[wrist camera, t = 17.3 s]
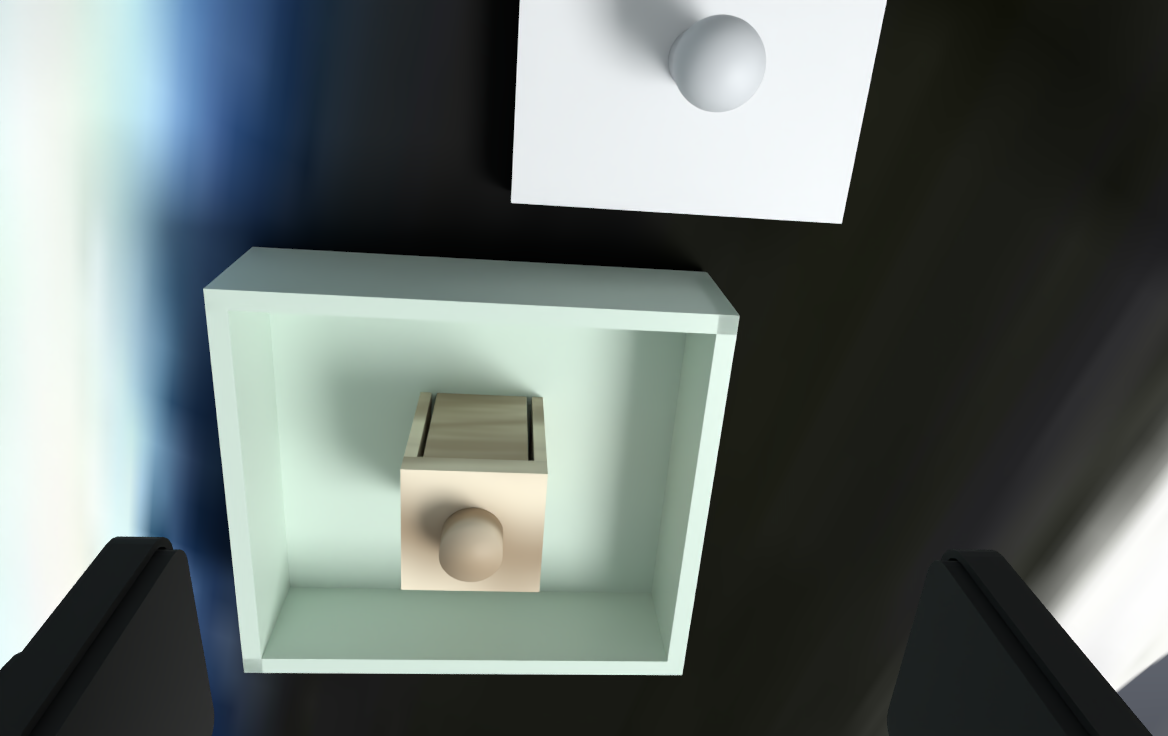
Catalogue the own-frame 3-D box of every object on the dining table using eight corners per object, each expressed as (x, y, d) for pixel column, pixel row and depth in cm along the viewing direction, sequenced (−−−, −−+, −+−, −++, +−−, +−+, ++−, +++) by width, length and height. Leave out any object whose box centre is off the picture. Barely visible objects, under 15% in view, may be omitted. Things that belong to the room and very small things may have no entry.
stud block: (884, -92, 32) (978, -121, 25) (825, 213, 36) (892, 255, 30) (525, -129, 30) (527, -170, 24) (511, 193, 35) (509, 232, 29)
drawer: (420, 392, 37) (394, 490, 30) (542, 397, 38) (549, 494, 30) (420, 497, 39) (396, 614, 32) (535, 500, 40) (540, 616, 32)
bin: (706, 271, 37) (739, 315, 32) (661, 593, 44) (682, 674, 39) (252, 246, 35) (203, 288, 30) (279, 587, 42) (244, 672, 37)
